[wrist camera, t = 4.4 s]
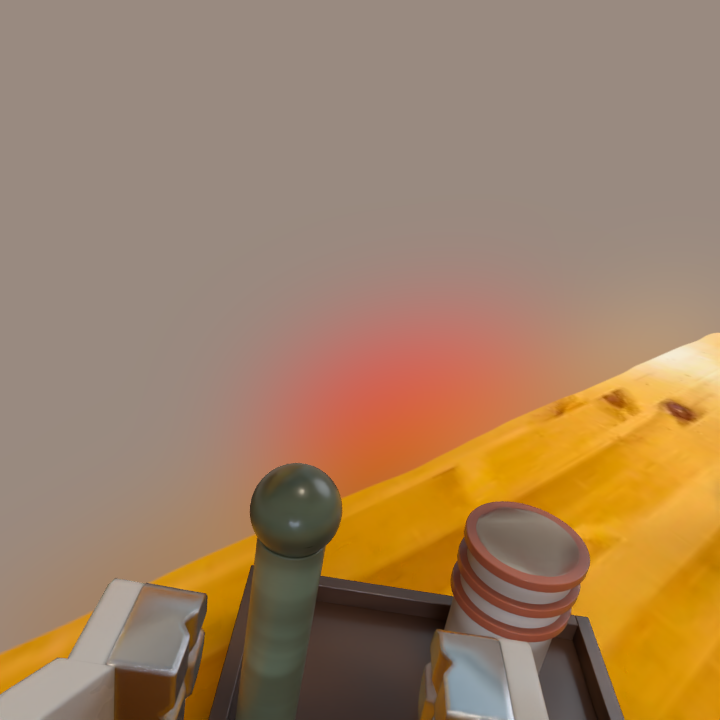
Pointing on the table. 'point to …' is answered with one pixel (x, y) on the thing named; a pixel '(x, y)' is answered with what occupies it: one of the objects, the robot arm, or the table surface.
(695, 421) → the table surface
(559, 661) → the tray
